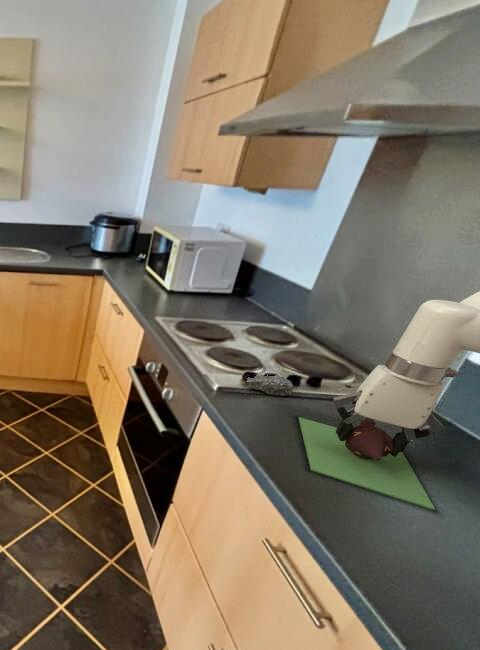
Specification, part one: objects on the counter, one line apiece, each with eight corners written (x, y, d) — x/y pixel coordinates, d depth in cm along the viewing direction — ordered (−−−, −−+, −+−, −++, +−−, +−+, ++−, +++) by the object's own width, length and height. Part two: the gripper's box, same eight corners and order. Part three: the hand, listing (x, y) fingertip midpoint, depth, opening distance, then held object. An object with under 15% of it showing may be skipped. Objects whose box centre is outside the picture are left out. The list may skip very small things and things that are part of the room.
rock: (240, 377, 115) (246, 364, 113) (283, 386, 112) (289, 373, 110) (244, 389, 109) (250, 375, 107) (289, 400, 105) (296, 385, 103)
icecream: (417, 457, 74) (392, 425, 86) (371, 434, 76) (353, 405, 88) (385, 483, 77) (365, 448, 89) (342, 460, 80) (328, 429, 92)
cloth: (397, 446, 90) (398, 444, 90) (434, 510, 73) (435, 509, 73) (298, 418, 98) (299, 416, 98) (310, 470, 81) (311, 469, 80)
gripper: (470, 374, 75) (415, 451, 83) (350, 348, 82) (310, 421, 90) (490, 391, 69) (428, 472, 77) (358, 362, 76) (315, 438, 85)
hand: (365, 444), depth 84 cm, fingers closed on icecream, 7 cm apart
